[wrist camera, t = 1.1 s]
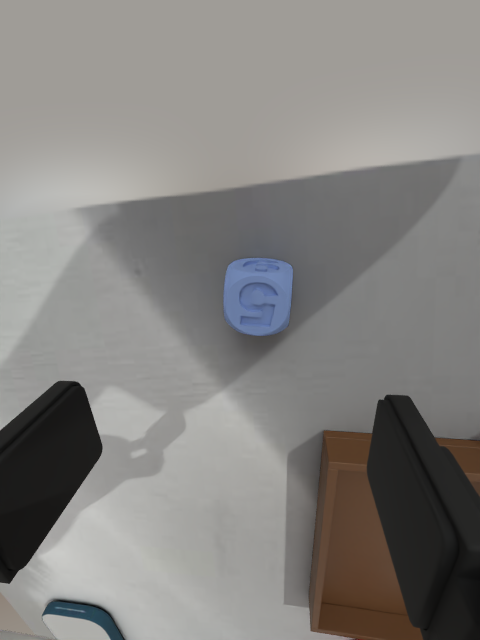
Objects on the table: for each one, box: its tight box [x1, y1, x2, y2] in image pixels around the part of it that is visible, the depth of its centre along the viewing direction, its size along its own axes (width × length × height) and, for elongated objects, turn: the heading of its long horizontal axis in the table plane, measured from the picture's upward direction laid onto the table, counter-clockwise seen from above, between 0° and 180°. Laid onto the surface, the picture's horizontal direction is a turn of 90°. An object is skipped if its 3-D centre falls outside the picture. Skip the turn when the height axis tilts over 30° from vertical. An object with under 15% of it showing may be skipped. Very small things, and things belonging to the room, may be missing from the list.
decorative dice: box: [224, 258, 293, 336], centre depth 19 cm, size 4×4×4 cm
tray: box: [309, 431, 480, 640], centre depth 29 cm, size 28×18×3 cm, turn 3°
